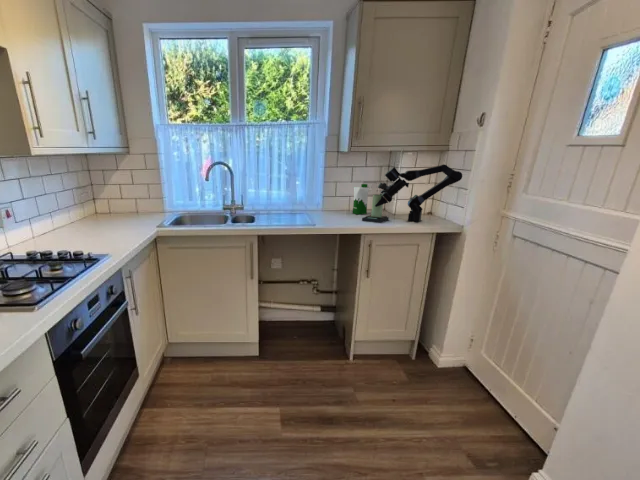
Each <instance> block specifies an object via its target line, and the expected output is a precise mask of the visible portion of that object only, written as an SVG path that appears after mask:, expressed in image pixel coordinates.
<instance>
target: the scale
mask: <svg viewBox="0 0 640 480" xmlns="http://www.w3.org/2000/svg"><path fill="white" fill-rule="evenodd" d="M389 219H390V218H389V216H388V215H382V217H372V216H371V214H370V215H366V216H363V217H361V221H362V222H369V223H377V224H382V223H385V222H387V221H389Z"/></svg>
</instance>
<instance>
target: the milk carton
mask: <svg viewBox="0 0 640 480" xmlns="http://www.w3.org/2000/svg"><path fill="white" fill-rule="evenodd" d="M369 192H370V187H368V183H361V186H356V187H353V204H352V214H353V215H357V216H359V215H367V214H368V200H369V199H368V198H369Z"/></svg>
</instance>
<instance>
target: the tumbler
mask: <svg viewBox="0 0 640 480" xmlns="http://www.w3.org/2000/svg"><path fill="white" fill-rule="evenodd" d="M382 196H383V195H382ZM380 199H381V195H380V194H373V195H372V202H371V212H370V215H371V216H372V217H382V216H383V207H384V204H383V205H380V206H377V207H376V206H375V205H376V204H377V202H378V201H379V200H380Z"/></svg>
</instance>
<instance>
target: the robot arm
mask: <svg viewBox="0 0 640 480" xmlns="http://www.w3.org/2000/svg"><path fill="white" fill-rule="evenodd" d="M439 173H443V174H444V175H446V176H445V177H444V178H443V180H441V181H440V182H438V183H437V184H435V185H434V186H431V188H429V189H427V190H426V191H424V193H421V194H420V195H418V194H415V195H413V196H412V197H409V199H408V201H407V207H408V208H409V209H410V210H409V213H408V214H407V215H408V216H407V222H413V223H420V222H422V221H423V220H422V213H423V207H422V206H421V205H423V203H424V202H425V201H426V200H428V199H429V198H431V197H433V196H434V195H435V194H437V193H438V192H440V191H442V190H443V189H446V187H448V186H451V185H453V184H455V183H458V182H460V181H461V180H462V179H463V172H461V171H460V170H454V169H453V168H451V167H450V166H449V165H447V164H445V163H444V164H440V165H437V166H431V167H427V168H423V169H411V170H410V169H409V170H406V171H405V172H402V173H401V172H399V171H398V170H397V168H396V167H392V168H391V169H390V170H388V171H387V172H386V173H385V174H384V177H386V178H387V179H388V181H389V182H393V183H392V184H389V185H387V183H386V182H379V183H378V186H377V188H378V189H381V191H380V193H379V195H381V199H380V200H379V201H378V202H377V204H376V205H375V206H376V207H377V206H380V205H383V206H384V205H385V204H388V203H389V204H390V203H391V202H392V201H393V197H394V196H395V195H396V194H398V193H399V192H400V191H401V190H403V188H404V187H406V188H409V185H410V182H412V181H414V180H416V179H419V178H421V177H425V176H429V175H434V174H439ZM407 181H408V182H407ZM382 195H383V196H382Z"/></svg>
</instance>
